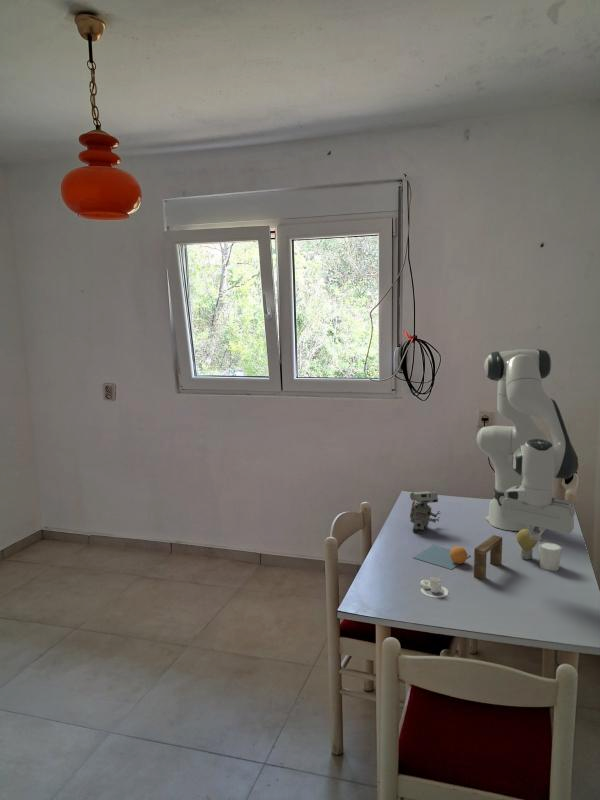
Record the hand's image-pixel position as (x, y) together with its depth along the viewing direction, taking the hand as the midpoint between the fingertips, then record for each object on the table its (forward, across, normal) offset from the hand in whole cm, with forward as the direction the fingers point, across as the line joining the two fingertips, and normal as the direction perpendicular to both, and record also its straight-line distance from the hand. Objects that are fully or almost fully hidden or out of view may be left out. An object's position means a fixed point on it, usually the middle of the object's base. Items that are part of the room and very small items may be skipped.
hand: (535, 539), depth 161 cm
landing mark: (+14, +30, 0) cm, 33 cm away
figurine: (+14, +47, -19) cm, 52 cm away
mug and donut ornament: (+14, +21, +21) cm, 33 cm away
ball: (+11, +24, +1) cm, 26 cm away
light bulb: (+14, +8, -17) cm, 23 cm away
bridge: (+14, +14, 0) cm, 20 cm away
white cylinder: (+14, 0, -14) cm, 20 cm away
